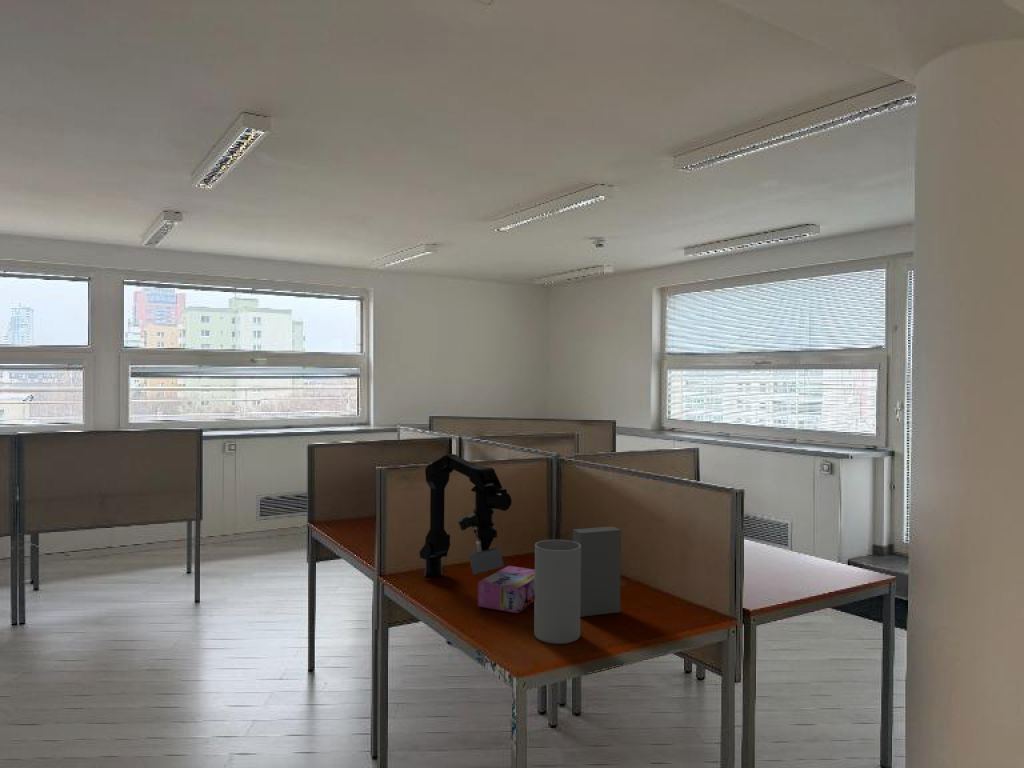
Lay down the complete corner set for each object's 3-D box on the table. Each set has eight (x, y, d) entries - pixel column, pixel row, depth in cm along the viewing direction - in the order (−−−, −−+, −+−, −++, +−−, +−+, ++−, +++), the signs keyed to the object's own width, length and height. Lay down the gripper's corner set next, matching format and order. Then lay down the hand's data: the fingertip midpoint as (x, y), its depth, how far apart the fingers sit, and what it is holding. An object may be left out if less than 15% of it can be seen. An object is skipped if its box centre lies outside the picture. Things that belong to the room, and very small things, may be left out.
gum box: (510, 563, 239) (547, 569, 234) (509, 587, 239) (547, 593, 234) (477, 581, 217) (518, 587, 212) (477, 607, 217) (518, 614, 212)
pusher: (470, 563, 235) (465, 543, 234) (499, 555, 236) (495, 536, 235) (473, 574, 225) (468, 553, 224) (504, 566, 226) (499, 545, 225)
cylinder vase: (577, 628, 201) (577, 539, 201) (582, 645, 188) (583, 550, 188) (532, 628, 200) (533, 539, 200) (535, 645, 188) (536, 550, 188)
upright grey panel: (610, 606, 220) (611, 525, 220) (620, 612, 214) (621, 529, 214) (570, 611, 215) (571, 528, 215) (579, 618, 209) (580, 533, 209)
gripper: (456, 501, 241) (456, 547, 241) (462, 512, 223) (461, 562, 223) (489, 501, 243) (489, 546, 243) (497, 511, 225) (497, 560, 225)
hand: (483, 553), depth 234 cm, fingers closed on pusher, 3 cm apart
